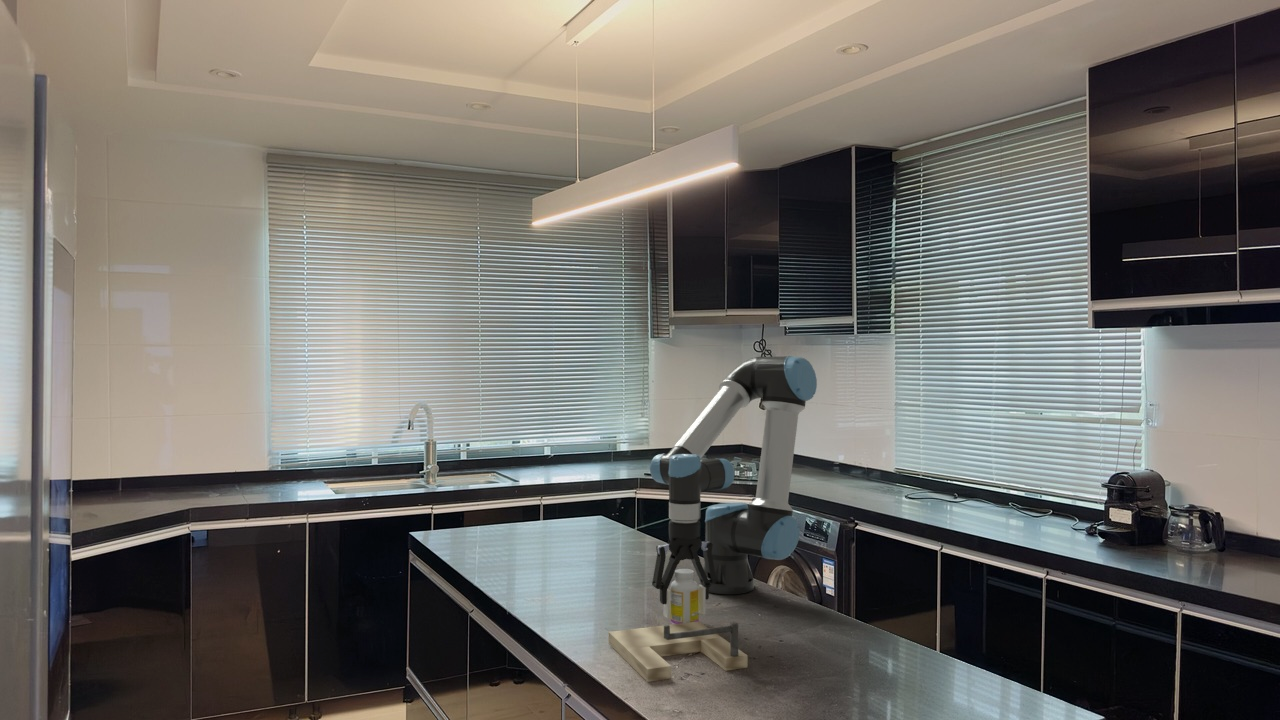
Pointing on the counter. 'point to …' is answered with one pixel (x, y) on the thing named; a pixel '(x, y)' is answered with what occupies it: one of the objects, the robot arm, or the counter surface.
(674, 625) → the wooden u-shaped stand
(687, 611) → the supplement bottle
